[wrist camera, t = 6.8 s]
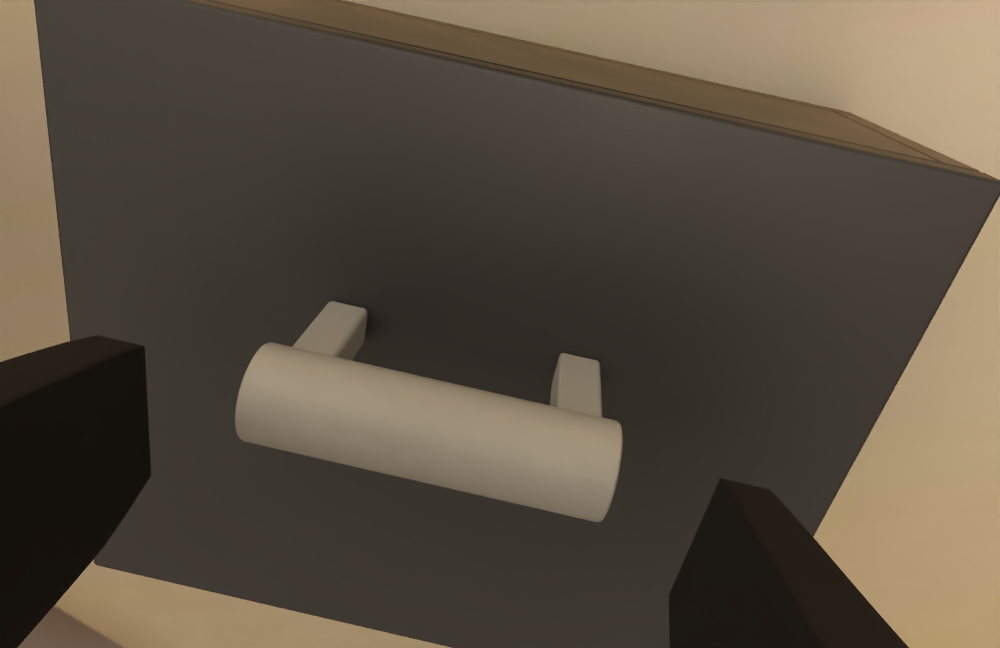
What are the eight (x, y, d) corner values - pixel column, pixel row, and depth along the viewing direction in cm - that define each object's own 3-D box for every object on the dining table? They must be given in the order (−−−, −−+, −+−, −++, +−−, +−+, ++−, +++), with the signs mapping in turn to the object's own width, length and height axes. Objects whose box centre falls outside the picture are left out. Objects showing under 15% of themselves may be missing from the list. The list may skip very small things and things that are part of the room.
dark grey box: (690, 495, 20) (726, 660, 15) (225, 388, 20) (108, 518, 15) (851, 113, 15) (984, 172, 10) (231, -25, 15) (59, -34, 10)
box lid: (714, 686, 15) (752, 882, 12) (109, 546, 16) (-22, 700, 12) (986, 173, 10) (1193, 264, 7) (57, -34, 10) (-205, -47, 7)
